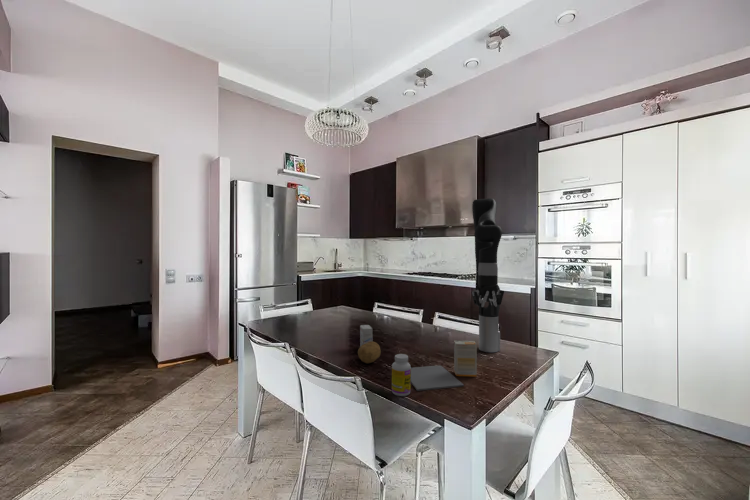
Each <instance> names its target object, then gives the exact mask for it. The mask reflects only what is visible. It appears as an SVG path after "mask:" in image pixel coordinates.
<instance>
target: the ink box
mask: <svg viewBox="0 0 750 500" xmlns="http://www.w3.org/2000/svg"><path fill="white" fill-rule="evenodd" d="M359 335H360V336H359V338H360V339H359V342H360V343H359V344H360V346H359V348H360V347H361V346H362V345H363V344H366V343H368V342H370V341H373V340H374V339H373V327H372V326H371V325H369V324H361V325H359ZM373 342H374V341H373Z"/></svg>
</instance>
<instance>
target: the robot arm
mask: <svg viewBox="0 0 750 500" xmlns="http://www.w3.org/2000/svg"><path fill="white" fill-rule="evenodd" d="M472 218H473V226H474V227H473V228H474V229H473V230H474V233H473V235H474V253H475V254H474V255H475V256H474V257H475V290H471V296H472V300H473V304H474V305H475V306H477V307H478V349H479V351H481V352H485V353H497V352H500V351H501V331H500V330H499V313H500V306H501V305H502V302H503V297H504V294H505V291H504V290H501V287H500V286H499V285H498V282H499V280H498V278H499V275H498V274H499V273H498V272H499V271H498V270H499V269H498V249H499V245H500V242H501V238H502V236H503V230H502V228H501V226H499V225H498V224H497V222H496V218H497V202H496V200H495V199H494V198H490V197H489V198H479V199H474V200H473V201H472ZM486 302H487V303H488V305H487V306H486V307H485V303H486Z"/></svg>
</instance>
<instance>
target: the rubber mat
mask: <svg viewBox="0 0 750 500" xmlns="http://www.w3.org/2000/svg"><path fill="white" fill-rule="evenodd" d="M464 385H465V384H464V383H463V382H462V381H460V379H458V378H457V377H455V376H454V375H453V374H452V373H451V372H449V370H447V369H446V368H445V367H443V366H442V365H428V366H416V367H415V366H414V367H411V386H413V387H414V388H415V390H416V391H417V392H420V391H430V390H442V389H450V388H460V387H464Z"/></svg>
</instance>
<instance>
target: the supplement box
mask: <svg viewBox="0 0 750 500" xmlns="http://www.w3.org/2000/svg"><path fill="white" fill-rule="evenodd" d="M477 346H478V345H477V342H475V340H453V358H454V359H453V361H454V363H453V364H454V366H453V371H454V375H455V376H456V377H470V378H471V377H475V378H476V377H477V375H478V373H477V372H478V369H477V368H478V367H477V366H478V365H477V363H478V361H477V360H478V359H477V353H478V352H477V351H478V350H477V349H478V348H477Z"/></svg>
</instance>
